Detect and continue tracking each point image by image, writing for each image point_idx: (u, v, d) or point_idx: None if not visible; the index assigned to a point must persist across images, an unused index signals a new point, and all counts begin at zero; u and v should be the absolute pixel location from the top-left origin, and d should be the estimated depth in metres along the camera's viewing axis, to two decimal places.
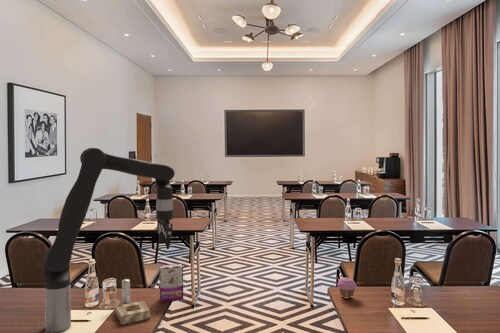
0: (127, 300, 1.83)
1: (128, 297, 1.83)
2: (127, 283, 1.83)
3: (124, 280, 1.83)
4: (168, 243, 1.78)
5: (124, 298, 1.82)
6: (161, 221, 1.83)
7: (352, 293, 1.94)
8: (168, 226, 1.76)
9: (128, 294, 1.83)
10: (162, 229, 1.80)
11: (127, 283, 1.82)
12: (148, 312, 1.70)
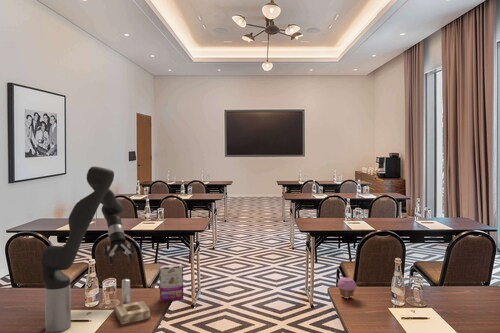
0: (127, 300, 1.83)
1: (128, 297, 1.83)
2: (127, 283, 1.83)
3: (124, 280, 1.84)
4: (131, 259, 1.97)
5: (124, 298, 1.82)
6: (116, 244, 1.98)
7: (352, 293, 1.94)
8: None
9: (128, 294, 1.83)
10: (123, 248, 1.98)
11: (127, 283, 1.82)
12: (148, 312, 1.70)
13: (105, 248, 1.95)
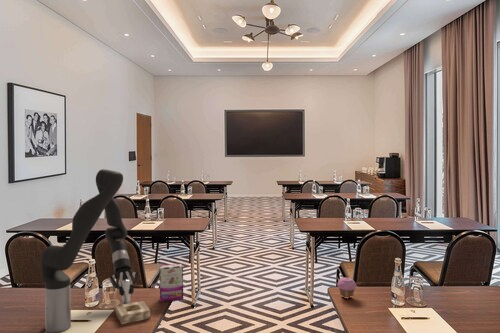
0: (127, 300, 1.83)
1: (128, 297, 1.83)
2: (127, 283, 1.83)
3: (124, 280, 1.83)
4: None
5: (124, 298, 1.82)
6: (121, 271, 1.88)
7: (352, 293, 1.94)
8: None
9: (128, 294, 1.83)
10: (127, 276, 1.87)
11: (127, 283, 1.82)
12: (148, 312, 1.70)
13: (112, 279, 1.84)
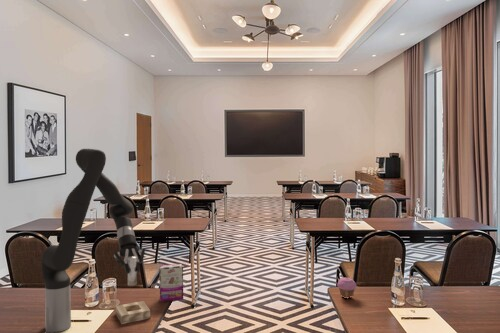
0: (133, 278, 1.71)
1: (134, 275, 1.72)
2: (133, 260, 1.71)
3: (130, 257, 1.72)
4: (139, 268, 1.73)
5: (130, 276, 1.71)
6: (126, 248, 1.76)
7: (352, 293, 1.94)
8: (144, 252, 1.79)
9: (134, 272, 1.72)
10: (133, 253, 1.75)
11: (133, 260, 1.71)
12: (148, 312, 1.70)
13: (117, 255, 1.72)
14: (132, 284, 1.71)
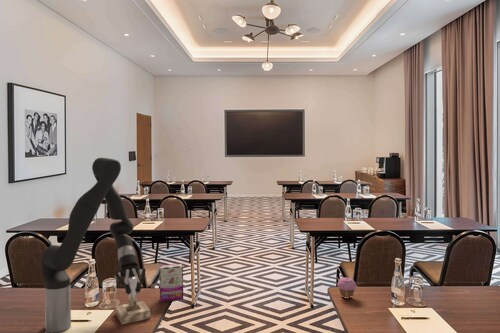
0: (134, 299, 1.72)
1: (135, 296, 1.72)
2: (134, 281, 1.71)
3: (131, 278, 1.72)
4: None
5: (131, 297, 1.71)
6: (127, 268, 1.76)
7: (352, 293, 1.94)
8: None
9: (135, 292, 1.72)
10: (134, 273, 1.75)
11: (134, 281, 1.71)
12: (148, 312, 1.70)
13: (117, 276, 1.72)
14: (133, 305, 1.71)
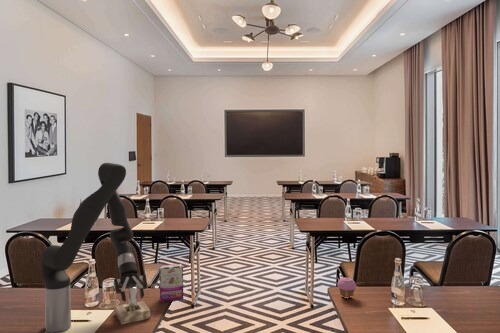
0: (134, 309, 1.72)
1: (135, 305, 1.72)
2: (134, 290, 1.71)
3: (131, 287, 1.72)
4: None
5: (131, 306, 1.71)
6: (127, 276, 1.76)
7: (352, 293, 1.94)
8: None
9: (135, 302, 1.72)
10: (135, 281, 1.76)
11: (134, 290, 1.71)
12: (148, 312, 1.70)
13: (116, 282, 1.72)
14: None
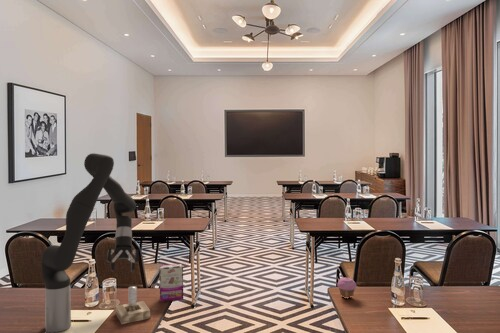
0: (134, 309, 1.72)
1: (135, 306, 1.72)
2: (134, 291, 1.71)
3: (131, 287, 1.72)
4: (133, 268, 1.87)
5: (130, 307, 1.71)
6: (121, 249, 1.88)
7: (352, 293, 1.94)
8: None
9: (135, 302, 1.72)
10: (128, 255, 1.87)
11: (134, 290, 1.71)
12: (148, 312, 1.70)
13: (109, 252, 1.84)
14: None
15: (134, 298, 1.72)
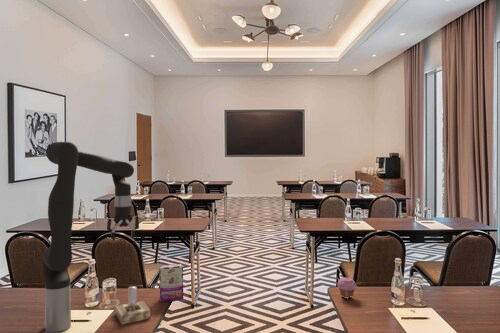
0: (134, 309, 1.72)
1: (135, 306, 1.72)
2: (134, 291, 1.71)
3: (131, 287, 1.72)
4: None
5: (130, 307, 1.71)
6: (121, 218, 1.86)
7: (352, 293, 1.94)
8: None
9: (135, 302, 1.72)
10: (128, 224, 1.87)
11: (133, 290, 1.71)
12: (148, 312, 1.70)
13: (109, 222, 1.83)
14: None
15: (134, 298, 1.72)
